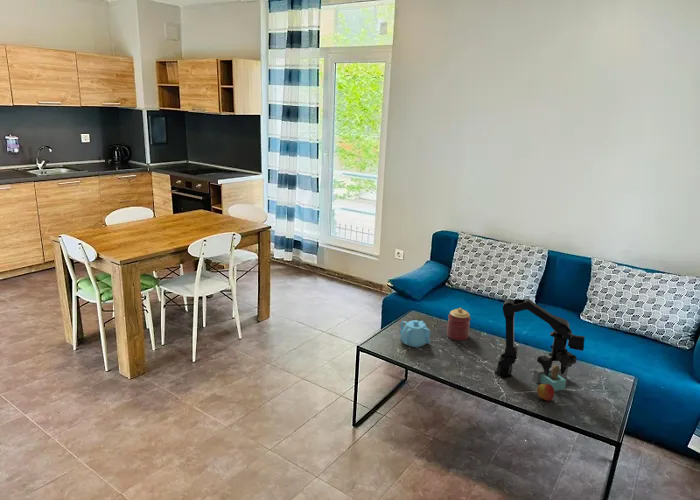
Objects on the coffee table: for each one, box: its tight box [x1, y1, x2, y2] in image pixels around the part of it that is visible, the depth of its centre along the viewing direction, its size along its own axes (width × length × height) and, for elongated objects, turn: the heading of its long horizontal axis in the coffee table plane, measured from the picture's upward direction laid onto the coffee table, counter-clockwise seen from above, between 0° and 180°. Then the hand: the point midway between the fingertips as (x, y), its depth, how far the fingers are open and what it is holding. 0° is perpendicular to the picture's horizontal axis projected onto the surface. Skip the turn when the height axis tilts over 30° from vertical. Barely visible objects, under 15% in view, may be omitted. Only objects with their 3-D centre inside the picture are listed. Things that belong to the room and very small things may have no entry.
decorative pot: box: [399, 319, 432, 349], centre depth 277 cm, size 16×16×14 cm
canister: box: [446, 307, 472, 341], centre depth 287 cm, size 13×13×18 cm
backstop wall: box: [532, 364, 569, 384], centre depth 245 cm, size 18×3×6 cm, turn 109°
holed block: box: [539, 373, 567, 392], centre depth 240 cm, size 8×8×5 cm
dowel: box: [550, 364, 559, 381], centre depth 238 cm, size 3×3×10 cm
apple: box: [536, 383, 555, 402], centre depth 227 cm, size 8×8×8 cm
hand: (554, 374), depth 238 cm, fingers open, 9 cm apart
